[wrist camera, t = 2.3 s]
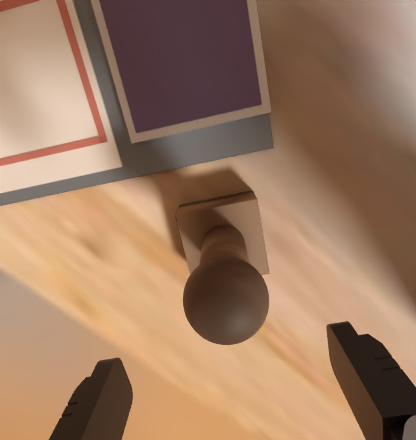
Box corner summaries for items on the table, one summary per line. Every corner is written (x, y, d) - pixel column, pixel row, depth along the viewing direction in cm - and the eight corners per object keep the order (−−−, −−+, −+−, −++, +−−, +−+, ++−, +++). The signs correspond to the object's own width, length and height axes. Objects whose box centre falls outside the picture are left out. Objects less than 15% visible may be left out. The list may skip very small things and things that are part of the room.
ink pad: (241, -77, 18) (243, -95, 16) (268, 112, 21) (272, 111, 19) (87, -32, 19) (76, -45, 17) (136, 142, 22) (130, 143, 20)
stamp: (252, 190, 23) (285, 254, 12) (264, 257, 25) (302, 370, 13) (180, 205, 24) (143, 279, 12) (196, 269, 25) (177, 386, 14)
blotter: (234, -125, 17) (234, -135, 16) (272, 147, 22) (274, 148, 21) (-104, -20, 19) (-116, -25, 19) (-3, 205, 24) (-9, 208, 24)
